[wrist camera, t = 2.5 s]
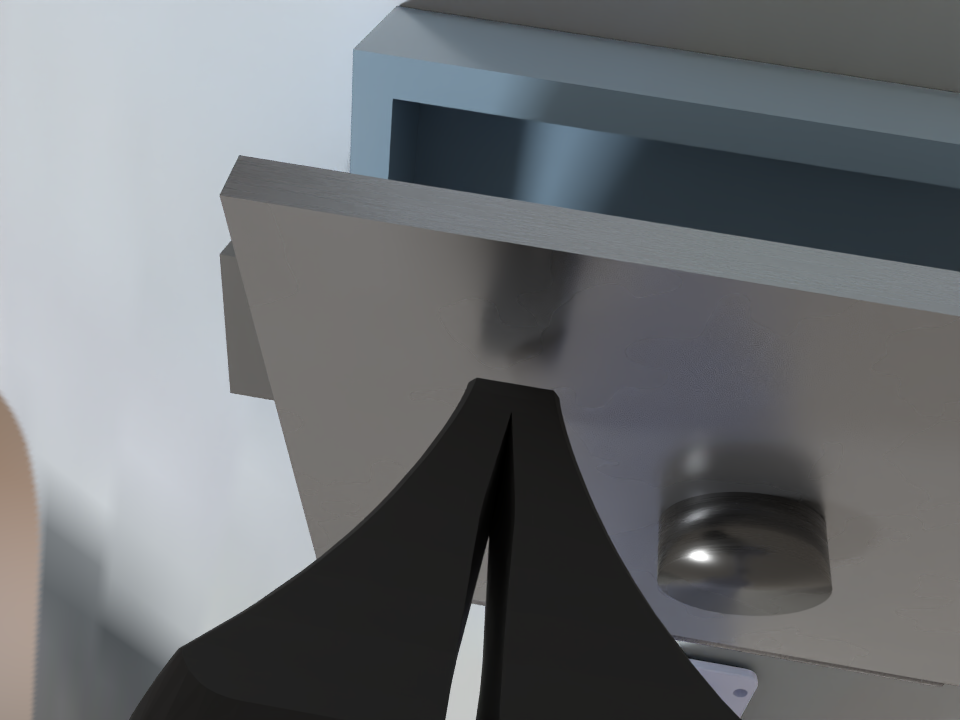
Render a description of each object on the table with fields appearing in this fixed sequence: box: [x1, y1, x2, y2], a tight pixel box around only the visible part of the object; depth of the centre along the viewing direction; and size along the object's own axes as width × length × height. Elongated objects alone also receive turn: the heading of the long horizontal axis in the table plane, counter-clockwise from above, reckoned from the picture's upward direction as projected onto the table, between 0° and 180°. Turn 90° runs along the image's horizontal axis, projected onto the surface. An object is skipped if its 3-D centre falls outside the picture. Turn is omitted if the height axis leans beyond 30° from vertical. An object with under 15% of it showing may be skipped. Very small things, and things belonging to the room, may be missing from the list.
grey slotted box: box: [220, 6, 960, 400], centre depth 20 cm, size 14×24×4 cm, turn 83°
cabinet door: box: [220, 155, 960, 687], centre depth 16 cm, size 15×19×2 cm
